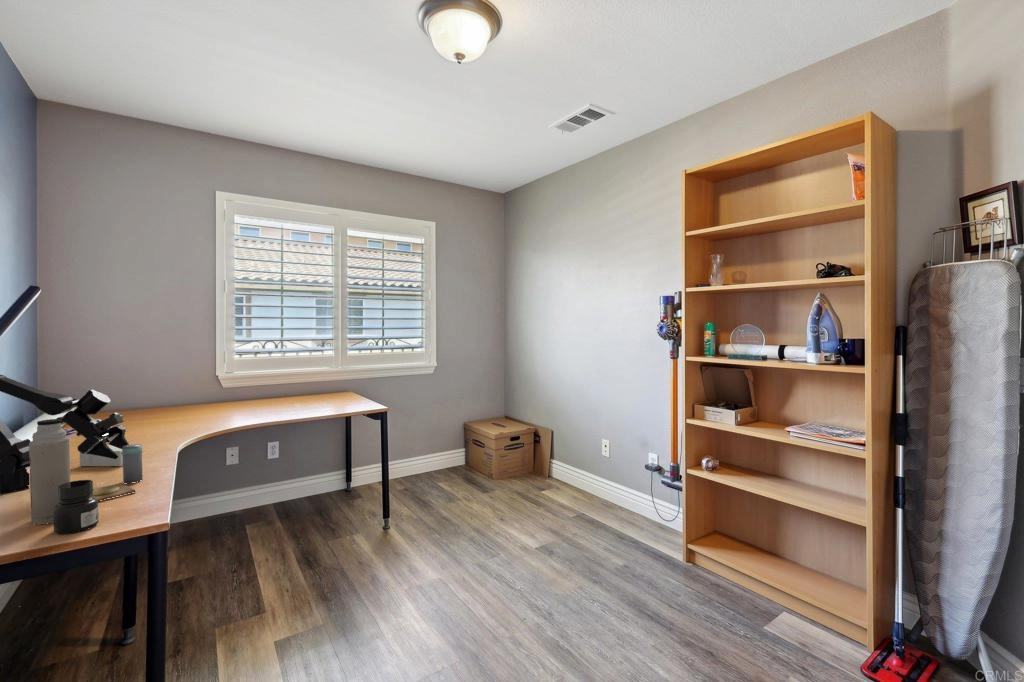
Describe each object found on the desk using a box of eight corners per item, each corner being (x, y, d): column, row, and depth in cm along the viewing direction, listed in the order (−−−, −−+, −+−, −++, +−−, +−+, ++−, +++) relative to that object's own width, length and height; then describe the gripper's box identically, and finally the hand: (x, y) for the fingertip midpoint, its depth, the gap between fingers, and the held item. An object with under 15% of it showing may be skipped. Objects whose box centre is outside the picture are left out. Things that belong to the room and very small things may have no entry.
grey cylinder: (126, 485, 159) (125, 448, 158) (120, 482, 162) (119, 446, 161) (145, 480, 163) (144, 445, 163) (139, 477, 166) (138, 443, 166)
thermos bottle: (24, 527, 126) (22, 423, 125) (40, 515, 133) (38, 418, 132) (63, 522, 129) (60, 421, 128) (76, 511, 136) (74, 416, 135)
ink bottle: (94, 531, 124) (93, 486, 124) (49, 538, 119) (47, 492, 119) (101, 518, 132) (101, 476, 132) (59, 525, 128) (58, 481, 127)
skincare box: (79, 466, 178) (119, 468, 178) (78, 449, 178) (119, 450, 177) (98, 460, 186) (137, 461, 186) (98, 443, 186) (137, 444, 186)
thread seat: (87, 504, 142) (86, 499, 141) (73, 496, 148) (73, 491, 148) (135, 493, 152) (135, 488, 152) (120, 485, 158) (120, 481, 158)
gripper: (87, 411, 150) (129, 443, 154) (118, 402, 168) (155, 431, 172) (58, 437, 149) (101, 469, 152) (93, 425, 166) (130, 453, 170)
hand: (124, 454), depth 162 cm, fingers open, 9 cm apart
